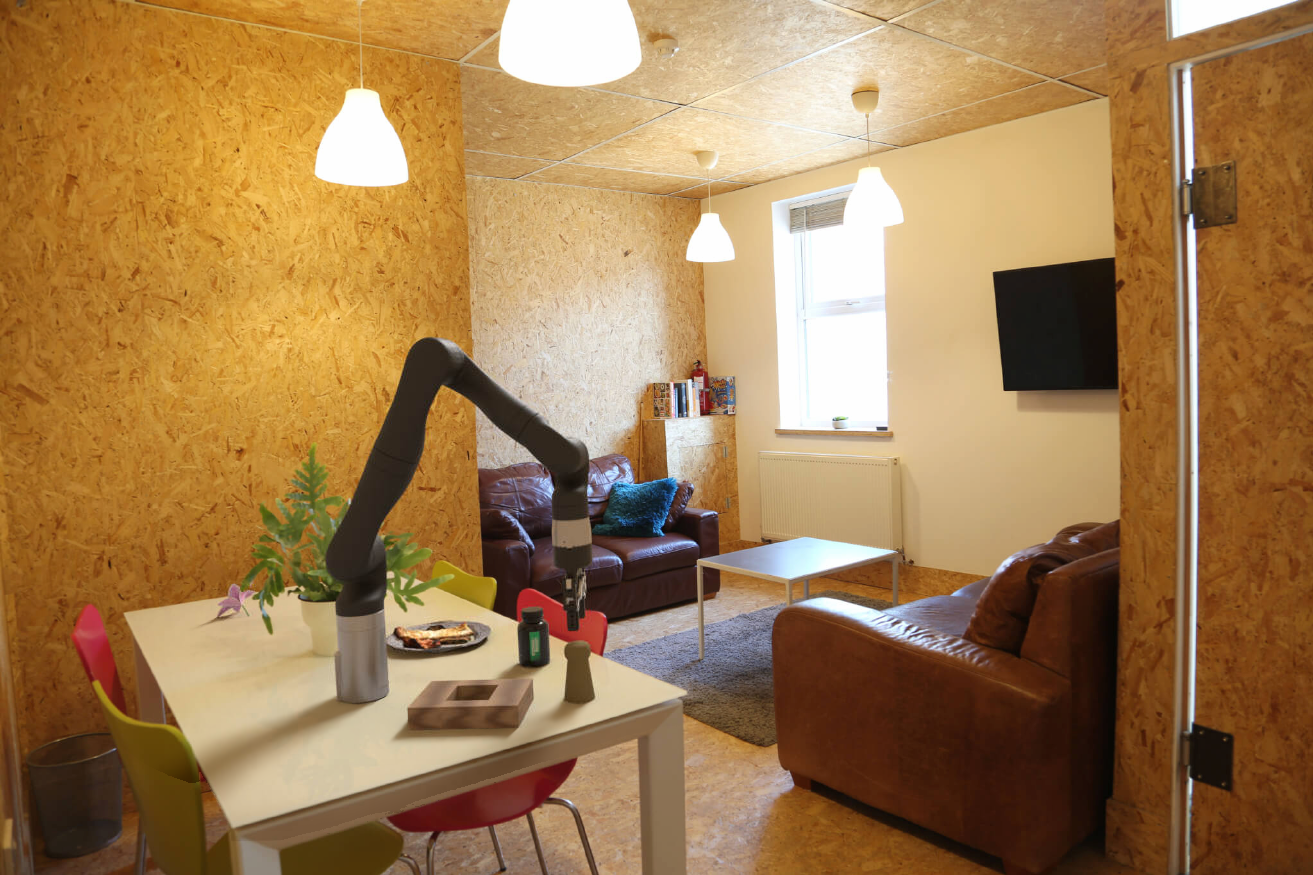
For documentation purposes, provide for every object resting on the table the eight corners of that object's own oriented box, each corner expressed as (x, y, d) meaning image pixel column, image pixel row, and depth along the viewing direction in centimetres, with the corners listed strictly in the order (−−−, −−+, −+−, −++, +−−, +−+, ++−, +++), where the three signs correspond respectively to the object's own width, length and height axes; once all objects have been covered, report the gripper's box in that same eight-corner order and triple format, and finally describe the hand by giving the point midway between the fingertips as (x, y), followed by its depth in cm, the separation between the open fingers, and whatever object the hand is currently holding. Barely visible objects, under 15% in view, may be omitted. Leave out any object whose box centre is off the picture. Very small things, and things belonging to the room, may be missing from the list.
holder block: (408, 729, 153) (407, 707, 153) (432, 700, 167) (431, 680, 167) (518, 727, 152) (517, 705, 152) (533, 698, 166) (532, 678, 166)
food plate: (383, 662, 193) (383, 646, 193) (385, 635, 215) (385, 621, 215) (495, 651, 200) (495, 636, 200) (486, 627, 222) (486, 613, 222)
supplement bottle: (541, 668, 184) (539, 614, 183) (513, 666, 186) (510, 612, 185) (555, 658, 190) (553, 605, 190) (528, 656, 192) (525, 604, 192)
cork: (566, 705, 162) (564, 648, 161) (561, 694, 168) (559, 639, 167) (598, 700, 163) (595, 644, 163) (591, 690, 169) (589, 636, 169)
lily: (264, 611, 249) (248, 583, 250) (270, 602, 240) (253, 573, 240) (223, 632, 241) (206, 603, 242) (228, 624, 232) (210, 594, 233)
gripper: (558, 535, 171) (563, 615, 172) (546, 549, 157) (551, 635, 158) (595, 534, 171) (600, 613, 172) (586, 547, 156) (591, 634, 157)
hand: (576, 624), depth 165 cm, fingers open, 8 cm apart
